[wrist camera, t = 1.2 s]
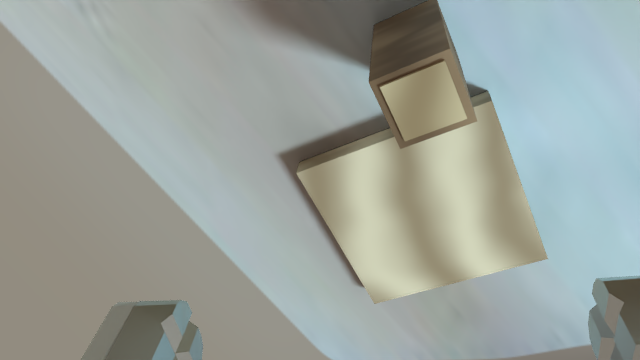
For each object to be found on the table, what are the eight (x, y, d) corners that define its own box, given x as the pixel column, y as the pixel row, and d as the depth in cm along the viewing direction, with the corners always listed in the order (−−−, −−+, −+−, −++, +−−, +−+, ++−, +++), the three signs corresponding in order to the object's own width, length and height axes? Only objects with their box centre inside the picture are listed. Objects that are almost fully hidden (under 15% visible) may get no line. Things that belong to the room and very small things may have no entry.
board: (488, 90, 34) (491, 100, 33) (542, 245, 40) (547, 258, 39) (299, 162, 38) (296, 173, 37) (375, 290, 45) (374, 303, 43)
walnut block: (435, -4, 31) (450, 49, 23) (457, 56, 33) (477, 122, 25) (373, 25, 32) (368, 83, 25) (398, 80, 34) (400, 150, 27)
